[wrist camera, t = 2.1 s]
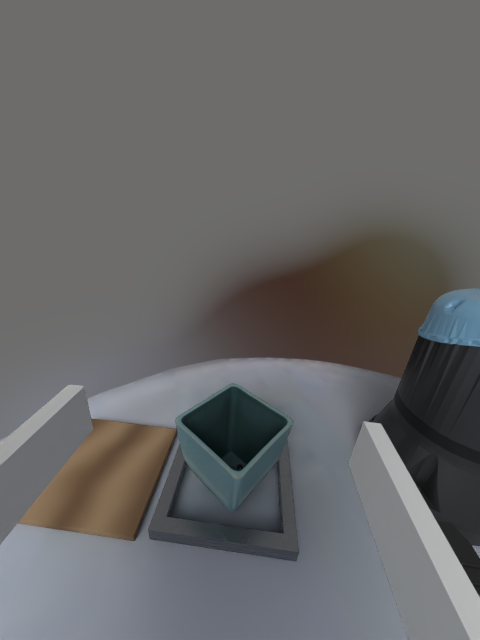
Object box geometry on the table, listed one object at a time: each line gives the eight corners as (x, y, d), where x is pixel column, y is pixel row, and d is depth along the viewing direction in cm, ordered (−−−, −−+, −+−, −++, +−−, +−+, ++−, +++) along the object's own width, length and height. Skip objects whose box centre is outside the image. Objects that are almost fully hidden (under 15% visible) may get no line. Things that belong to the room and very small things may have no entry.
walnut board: (177, 433, 33) (176, 429, 33) (134, 541, 22) (133, 536, 22) (92, 423, 34) (91, 418, 34) (10, 522, 23) (8, 517, 23)
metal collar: (284, 436, 34) (286, 428, 34) (296, 561, 22) (298, 552, 21) (189, 425, 35) (189, 417, 34) (149, 539, 23) (148, 529, 22)
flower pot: (229, 433, 34) (233, 380, 31) (283, 477, 29) (295, 419, 25) (176, 478, 28) (172, 418, 24) (232, 544, 23) (238, 481, 19)
